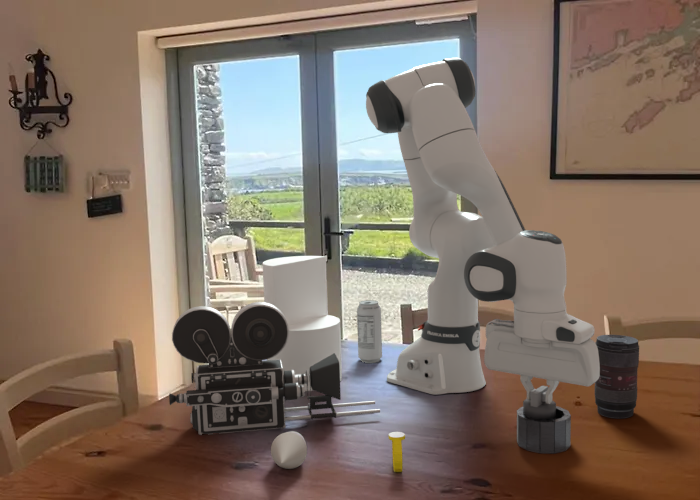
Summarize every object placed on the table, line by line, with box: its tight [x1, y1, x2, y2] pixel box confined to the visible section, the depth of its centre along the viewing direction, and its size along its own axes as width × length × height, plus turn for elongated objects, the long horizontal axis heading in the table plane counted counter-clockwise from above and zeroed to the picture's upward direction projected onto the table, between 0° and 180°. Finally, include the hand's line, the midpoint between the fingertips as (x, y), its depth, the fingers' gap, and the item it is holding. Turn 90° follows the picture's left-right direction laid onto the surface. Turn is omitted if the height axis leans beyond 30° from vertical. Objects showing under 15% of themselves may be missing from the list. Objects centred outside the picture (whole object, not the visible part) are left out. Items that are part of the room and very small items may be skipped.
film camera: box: [168, 301, 381, 436], centre depth 145 cm, size 40×12×24 cm, turn 99°
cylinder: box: [262, 255, 343, 392], centre depth 172 cm, size 17×17×28 cm
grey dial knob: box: [522, 385, 557, 419], centre depth 131 cm, size 6×6×4 cm
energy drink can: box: [356, 299, 383, 364], centre depth 188 cm, size 6×6×15 cm
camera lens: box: [594, 334, 640, 419], centre depth 146 cm, size 8×8×15 cm
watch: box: [387, 431, 406, 473], centre depth 123 cm, size 6×3×6 cm, turn 0°
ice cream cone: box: [270, 430, 308, 470], centre depth 124 cm, size 6×6×15 cm
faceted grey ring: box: [516, 405, 572, 455], centre depth 132 cm, size 9×9×6 cm
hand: (539, 401), depth 131 cm, fingers closed on grey dial knob
